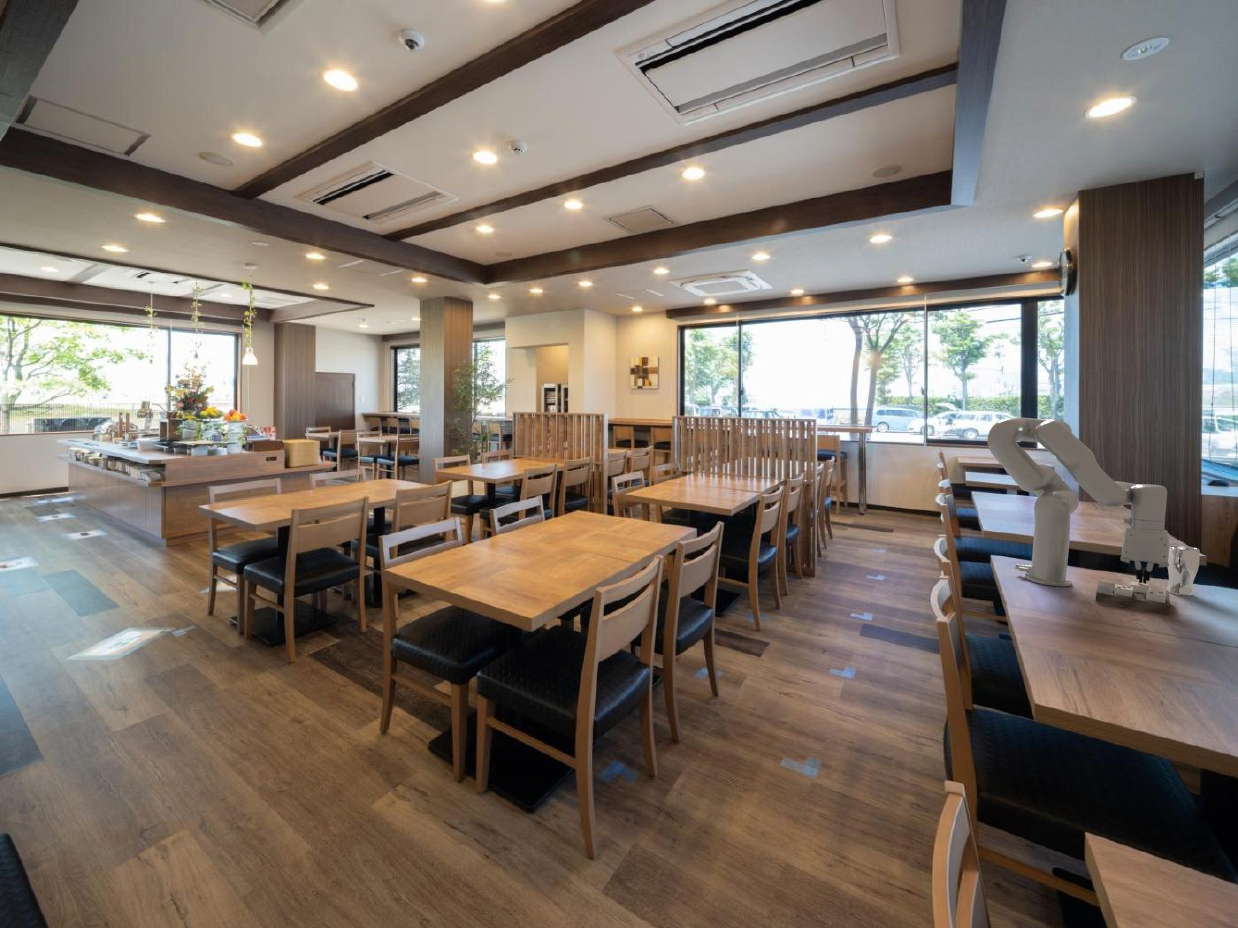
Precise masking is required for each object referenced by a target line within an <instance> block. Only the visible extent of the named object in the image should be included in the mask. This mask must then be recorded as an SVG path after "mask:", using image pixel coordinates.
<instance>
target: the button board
mask: <svg viewBox="0 0 1238 928" xmlns="http://www.w3.org/2000/svg"><path fill="white" fill-rule="evenodd" d="M1115 584H1117V583H1112V582H1106V581H1098V584H1097V588H1096V593H1095V602H1096V603H1102V604H1107V605H1112V606H1116V607H1117V606H1118V607H1122V608H1123V607H1124V608H1127V609H1128V608H1129V609H1133V610H1137V611H1138V610H1139V611H1142V612H1143V611H1144V612H1149V613H1153V614H1159V615H1164V616H1170V611H1171V601H1170V600H1171V599H1170V593H1169V592H1166V591H1165V592H1164V591H1163V592H1164V593H1166V601H1165V603H1162V602H1156V601H1150V600H1146V593H1140V592H1134V591H1133V594H1132V597H1128V596H1123V595H1117V594H1114V590H1115ZM1117 585H1119V584H1117ZM1122 585H1123V584H1122ZM1123 586H1125V584H1124V585H1123ZM1128 586H1129V585H1128ZM1130 586H1131V585H1130ZM1130 586H1129V587H1130ZM1151 590H1152V591H1155V590H1153V589H1151ZM1157 591H1158V590H1157ZM1158 592H1161V591H1160V590H1159V591H1158Z"/></svg>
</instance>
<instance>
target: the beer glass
mask: <svg viewBox="0 0 1238 928" xmlns="http://www.w3.org/2000/svg"><path fill="white" fill-rule="evenodd" d="M1200 553H1201V552H1200V549H1199V548H1196V547H1193V546H1186V545H1178V544H1177V545H1176V544H1175V545H1174V544H1173V545H1169V558H1168V563H1169V566H1168V567H1167V571H1168V583H1167V586H1166V588H1165V592H1166V593H1169V594H1172V595H1177V596H1181V597H1193V596H1194V590H1193V588H1194V587H1193V585H1194V584H1193V583H1194V580H1195V577H1196V576H1197V573H1198V571H1199V567H1200V559H1201V558H1200Z"/></svg>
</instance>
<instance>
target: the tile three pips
mask: <svg viewBox="0 0 1238 928" xmlns="http://www.w3.org/2000/svg"><path fill="white" fill-rule="evenodd" d="M1114 584H1115V590H1114V594H1117V595H1123V596H1128V597H1132V594H1133V587H1129V585H1124V586H1123V584H1118V585H1117V583H1114Z"/></svg>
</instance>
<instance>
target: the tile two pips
mask: <svg viewBox="0 0 1238 928" xmlns="http://www.w3.org/2000/svg"><path fill="white" fill-rule="evenodd" d="M1152 590H1153V589H1149V590H1147V592H1146V600H1150V601H1156V602H1162V603H1165V601H1166V593H1167V592H1165V593H1164V591H1160V592H1158V590H1154V591H1152Z"/></svg>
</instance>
